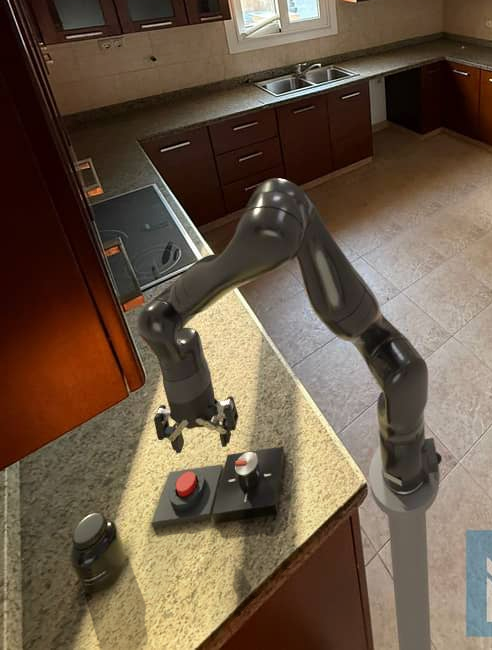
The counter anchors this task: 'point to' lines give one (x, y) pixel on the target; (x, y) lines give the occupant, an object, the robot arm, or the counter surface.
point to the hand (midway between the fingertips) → (203, 445)
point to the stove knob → (248, 470)
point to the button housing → (188, 498)
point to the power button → (186, 484)
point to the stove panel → (253, 501)
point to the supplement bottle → (97, 553)
